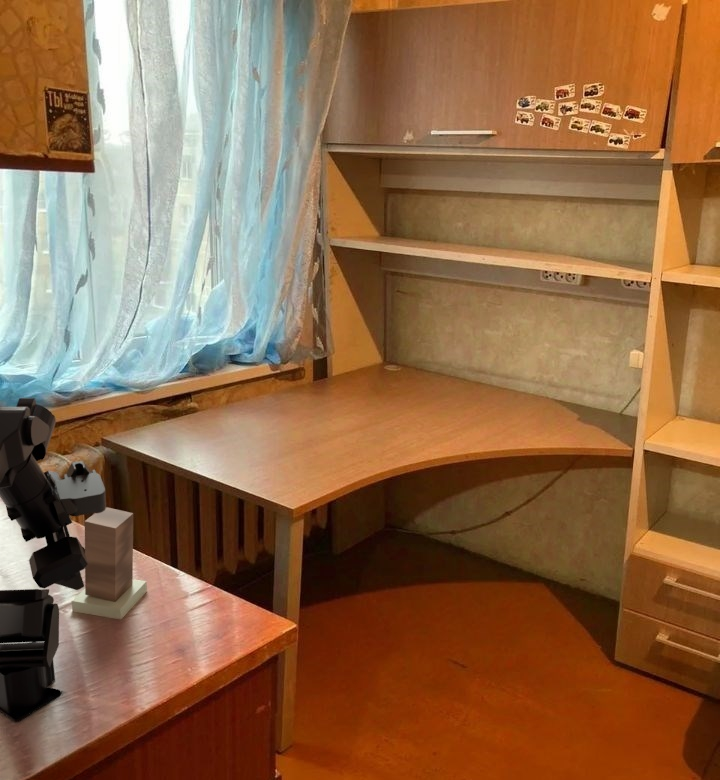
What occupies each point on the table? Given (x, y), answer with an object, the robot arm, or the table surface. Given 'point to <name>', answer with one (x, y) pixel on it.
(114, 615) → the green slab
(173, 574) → the table surface
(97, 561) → the walnut pillar
